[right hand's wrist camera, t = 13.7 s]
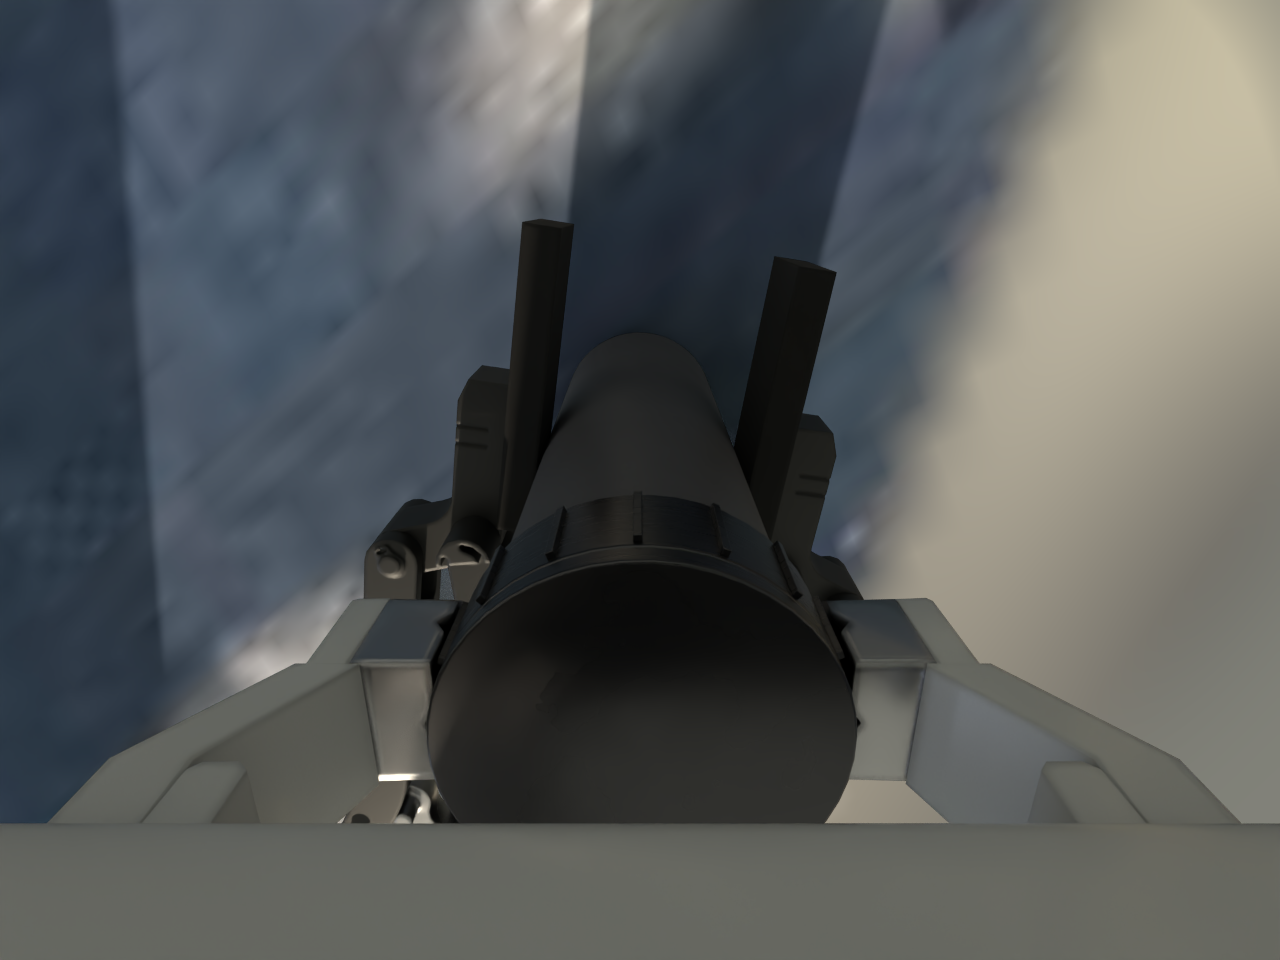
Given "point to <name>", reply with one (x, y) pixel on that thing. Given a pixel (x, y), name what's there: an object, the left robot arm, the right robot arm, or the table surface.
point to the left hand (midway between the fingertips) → (677, 245)
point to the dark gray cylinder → (639, 434)
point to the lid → (641, 677)
